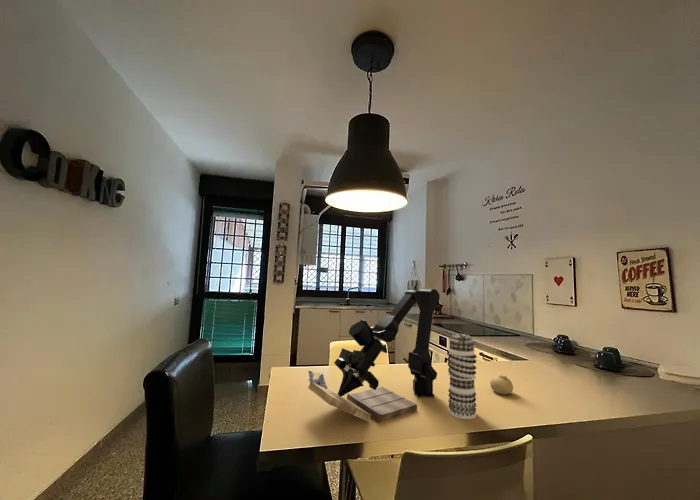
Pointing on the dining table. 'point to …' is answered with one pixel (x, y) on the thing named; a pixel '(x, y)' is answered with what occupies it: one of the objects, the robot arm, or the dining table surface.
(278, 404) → the dining table surface
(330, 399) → the plank
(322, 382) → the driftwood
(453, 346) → the white patterned tower
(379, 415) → the wooden panel
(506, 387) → the onion
